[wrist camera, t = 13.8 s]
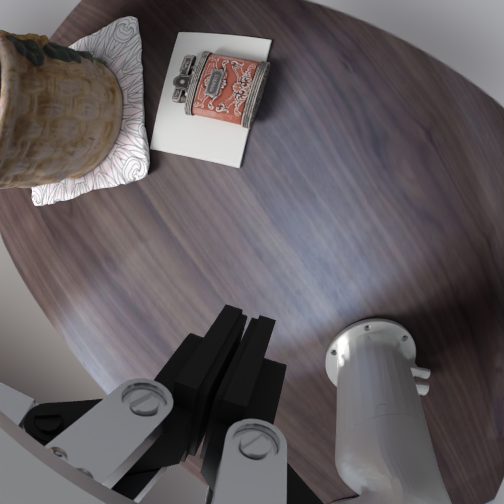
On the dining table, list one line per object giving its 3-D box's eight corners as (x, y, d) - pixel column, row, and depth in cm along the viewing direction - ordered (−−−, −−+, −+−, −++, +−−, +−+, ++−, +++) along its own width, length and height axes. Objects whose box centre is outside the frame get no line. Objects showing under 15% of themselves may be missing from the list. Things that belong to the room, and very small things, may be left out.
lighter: (247, 126, 30) (160, 108, 31) (251, 130, 33) (172, 113, 34) (268, 58, 28) (182, 44, 29) (270, 68, 31) (191, 53, 32)
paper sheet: (271, 41, 30) (271, 40, 30) (240, 167, 35) (239, 167, 35) (180, 33, 32) (178, 32, 31) (151, 148, 37) (149, 148, 37)
